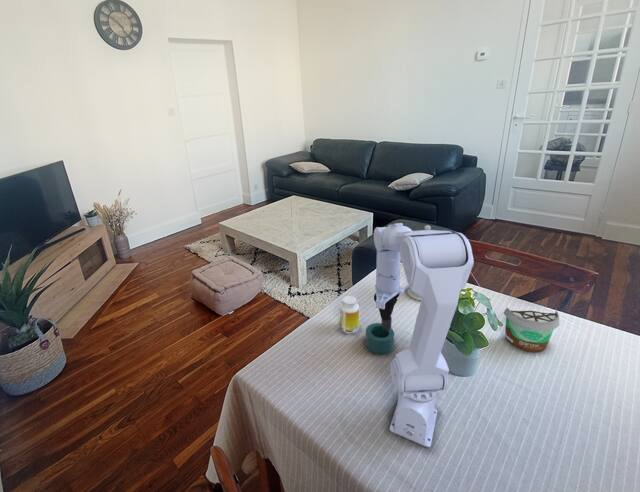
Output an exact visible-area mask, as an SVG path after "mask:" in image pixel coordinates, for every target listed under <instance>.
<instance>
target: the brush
mask: <svg viewBox="0 0 640 492" xmlns="http://www.w3.org/2000/svg"><path fill="white" fill-rule="evenodd" d="M380 319H381V320H380V323H381V327H382V329H384V330H390V329H391V328H392V321H393V319H392V316H391V317H390V319H389V320H386V319H382V318H381V317H380Z"/></svg>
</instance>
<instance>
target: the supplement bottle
mask: <svg viewBox="0 0 640 492" xmlns="http://www.w3.org/2000/svg"><path fill="white" fill-rule="evenodd" d="M339 322H340V324H339V325H340V326H339V328H340V329H341V331H342V332H343V333H346V334H355V333H357V332H358V331H359V330H360V306H359V303H357V298H356V297H354V296H353V295H346V296H343V297H342V302H341V303H340V305H339Z"/></svg>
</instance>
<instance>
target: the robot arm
mask: <svg viewBox="0 0 640 492" xmlns="http://www.w3.org/2000/svg"><path fill="white" fill-rule="evenodd" d="M373 243H374V247H375V250H376V267H375V268H376V269H375V272H376V273H375V285H374V290H375V293H374V295H373V301H374V302H375V308H377V309H378V311H379V315H380V319H381V318H382V319H386V320H389V319H390V317H391V318H392V315H393V312H394V309H395V305H396V304H397V302H398V298H399V296H400V295H403V294H404V293H405V288H404V287H401V285H400V284H401V283H400V282H401V281H400V280H401V266H402V267H403V271H404V275H405V278H406V282H407V284H408V285H409V288H410V290H411V291H413V292H415V293H417V294H419V295H421V296H422V300H420V305H419V308H418V312H417V316H416V320H415V324H414V328H413V332H412V335H411V339H410V343H409V347H407V348H406V349H403V350H402V351H399V352H397V353H396V354H395V356H394V358H393V359H392V360H391V362H390V367H389V368H390V369H389V370H390V376H391V380H392V384H393V386H394V388H395V389H396V390H397V404H396V407H395V409H394V413H393V416H392V419H391V422H390V425H389V431H390V432H392V433H393V434H395V435H398V436H401V437H403V438H405V439H408V440H409V441H412V442H414V443H416V444H419V445H421V446H424V447H425V448H431V446H432V442H433V436H434V431H435V427H436V420H437V415H438V410H437V409H436V406H435V405H436V398H437V396H439V395H440V394H441V391H445V390H446V389H447V388H448V385H449V372H450V369H449V365H448V363H447V361H446V358H445V357H444V355H443V353H442V350H443V347H444V345H445V341H446V338H447V335H448V333H449V330H450V327H451V324H452V321H453V318H454V316H455V313H456V310H457V308H458V303H459V299H460V293H461V291H462V290H463V289H464V288H466V285H467V283H468V280H469V277H470V276H471V275H470V274H471V272H472V269H473V267H474V264H475V261H474V260H475V259H474V256H473V250H472V249H473V248H472V245H471V243H470V241H469V239H468V237H466V235H464V234H463V233H462V232H454V233H453V232H452V231H450V230H437V229H430V230H426V229H421V230H412V229H411V228H410V227H408V226H406V225H404V224H403V222H400V223H398V222H397V223H393V224H388V225H387V226H382V227H381V226H380V227H379V226H376V227H375V228H374V230H373Z"/></svg>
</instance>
